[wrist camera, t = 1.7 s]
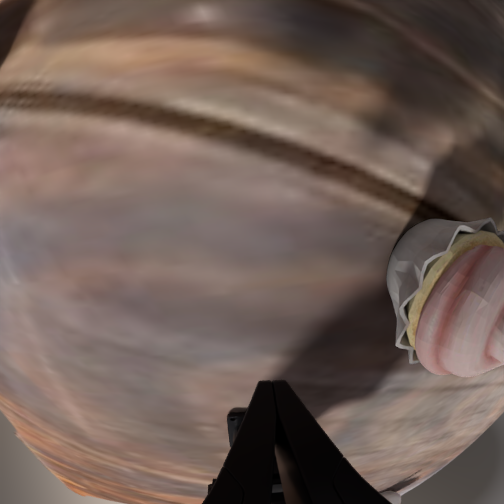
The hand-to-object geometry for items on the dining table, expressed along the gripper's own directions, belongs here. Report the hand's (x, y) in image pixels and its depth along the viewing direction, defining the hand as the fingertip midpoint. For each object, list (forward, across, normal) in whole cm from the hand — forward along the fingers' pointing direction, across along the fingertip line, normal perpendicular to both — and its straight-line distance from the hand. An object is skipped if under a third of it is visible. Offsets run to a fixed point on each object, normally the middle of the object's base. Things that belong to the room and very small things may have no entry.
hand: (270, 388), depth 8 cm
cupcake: (+8, -11, 0) cm, 14 cm away
